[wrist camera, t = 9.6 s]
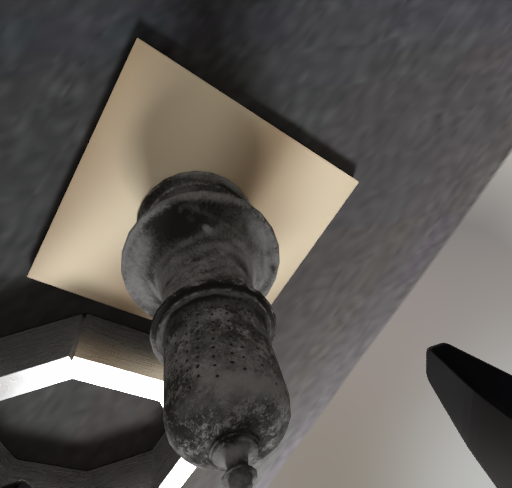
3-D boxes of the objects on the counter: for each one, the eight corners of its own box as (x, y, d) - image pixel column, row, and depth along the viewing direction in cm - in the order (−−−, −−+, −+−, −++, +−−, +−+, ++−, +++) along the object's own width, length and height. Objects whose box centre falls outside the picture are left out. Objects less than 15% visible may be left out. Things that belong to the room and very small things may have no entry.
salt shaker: (219, 299, 19) (282, 593, 9) (106, 253, 17) (10, 579, 7) (284, 203, 18) (453, 427, 7) (168, 137, 15) (171, 327, 5)
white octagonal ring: (-73, 460, 21) (-107, 518, 18) (4, 286, 17) (-25, 328, 15) (141, 492, 26) (138, 542, 23) (235, 362, 22) (244, 404, 20)
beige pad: (31, 269, 17) (27, 276, 17) (138, 37, 14) (136, 37, 14) (236, 342, 22) (238, 350, 21) (353, 178, 19) (358, 181, 18)
